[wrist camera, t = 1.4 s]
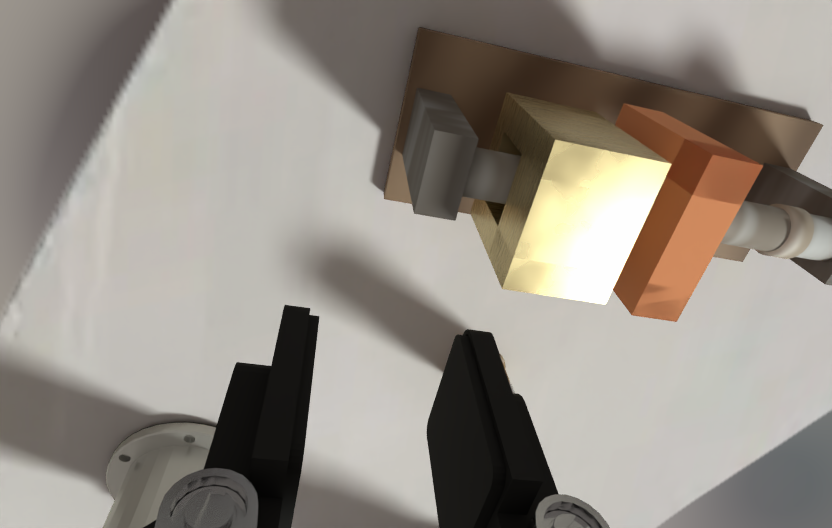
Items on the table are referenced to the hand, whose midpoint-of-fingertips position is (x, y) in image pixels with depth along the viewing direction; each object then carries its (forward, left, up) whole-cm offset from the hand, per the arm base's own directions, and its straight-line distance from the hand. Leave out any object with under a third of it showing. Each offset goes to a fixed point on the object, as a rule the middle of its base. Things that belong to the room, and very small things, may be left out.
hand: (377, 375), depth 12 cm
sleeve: (0, -9, -19) cm, 21 cm away
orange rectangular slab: (0, -14, -20) cm, 24 cm away
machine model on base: (0, -15, -23) cm, 28 cm away
